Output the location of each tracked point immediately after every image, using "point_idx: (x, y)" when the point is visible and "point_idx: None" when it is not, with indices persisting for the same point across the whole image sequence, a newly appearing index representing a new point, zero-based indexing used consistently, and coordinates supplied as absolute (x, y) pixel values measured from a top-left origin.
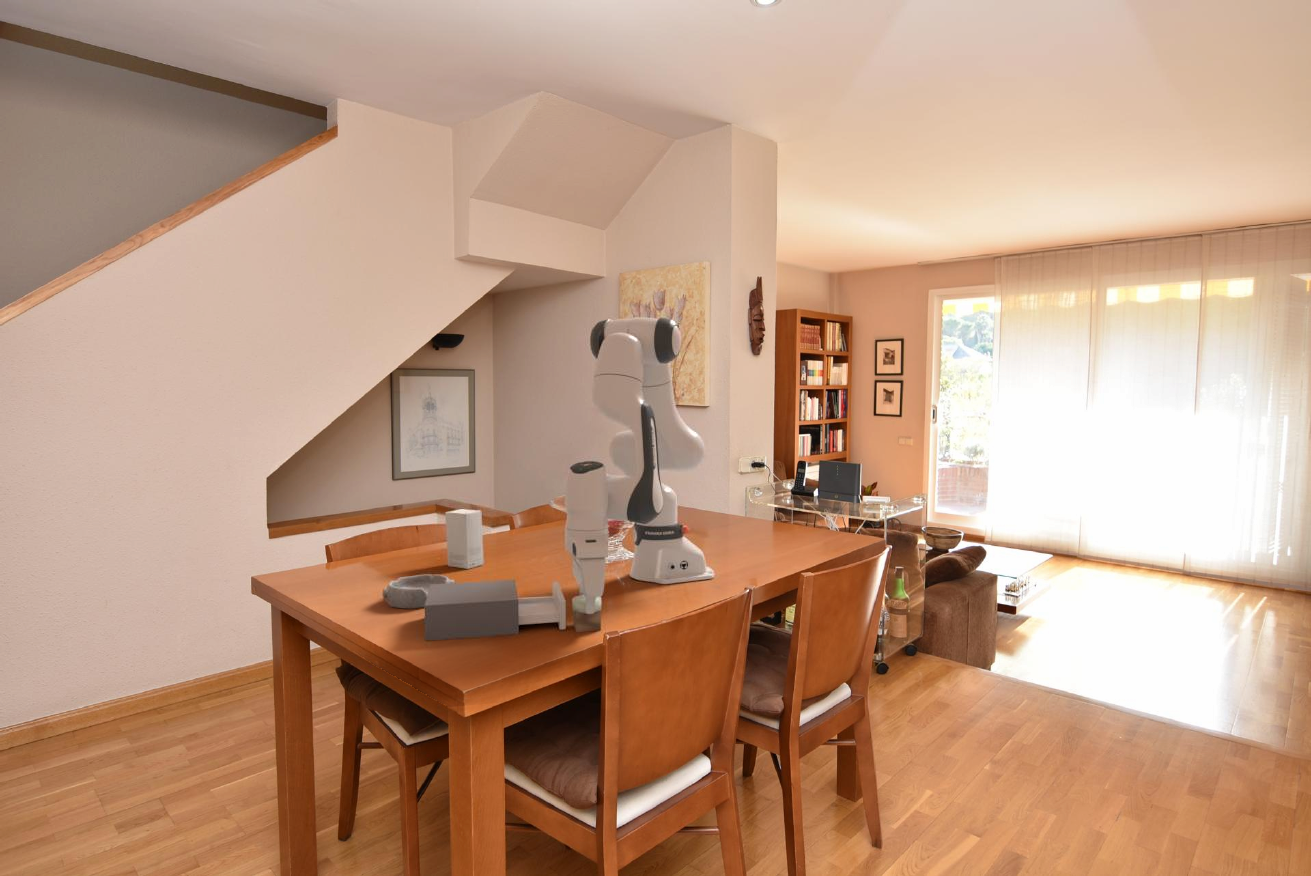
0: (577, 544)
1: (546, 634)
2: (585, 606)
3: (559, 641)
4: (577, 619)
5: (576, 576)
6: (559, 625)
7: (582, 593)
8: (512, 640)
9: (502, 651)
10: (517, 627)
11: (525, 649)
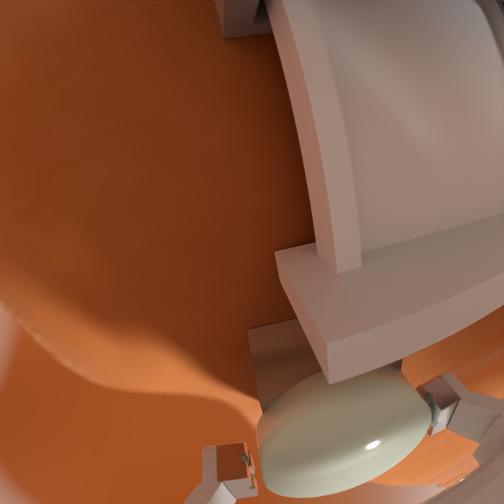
0: None
1: (210, 185)
2: (213, 474)
3: (110, 268)
4: (255, 373)
5: (494, 494)
6: (294, 253)
7: (453, 410)
8: (126, 37)
9: (15, 57)
10: (222, 19)
11: (20, 135)
